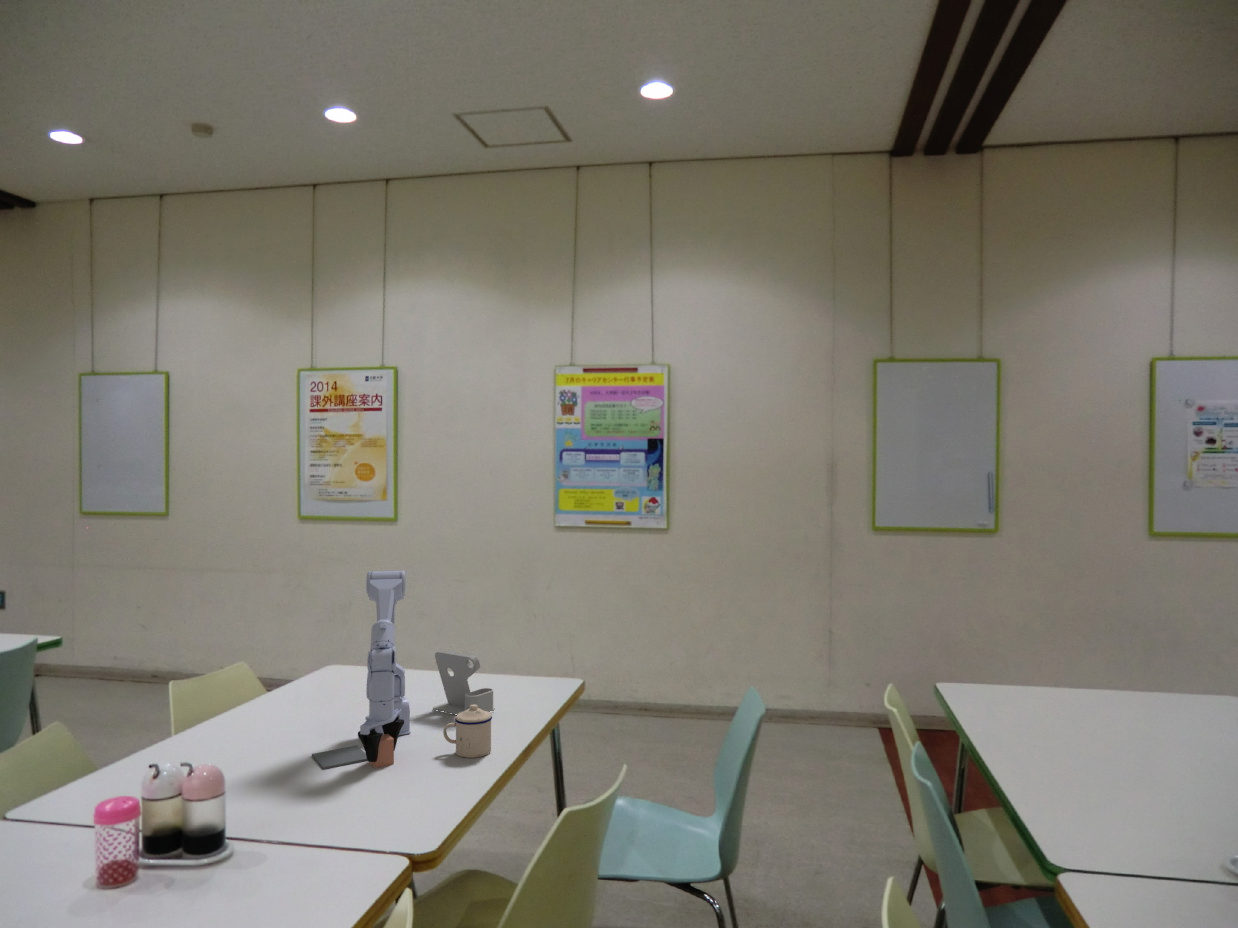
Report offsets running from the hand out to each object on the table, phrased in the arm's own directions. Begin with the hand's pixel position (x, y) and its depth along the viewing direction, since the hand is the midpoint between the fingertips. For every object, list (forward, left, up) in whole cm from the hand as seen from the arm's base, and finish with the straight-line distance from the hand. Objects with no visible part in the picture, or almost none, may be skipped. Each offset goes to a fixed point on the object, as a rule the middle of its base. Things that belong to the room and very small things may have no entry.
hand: (381, 755), depth 187 cm
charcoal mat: (+7, -9, -2) cm, 12 cm away
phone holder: (-34, -29, -2) cm, 45 cm away
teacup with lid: (-20, +5, -2) cm, 21 cm away
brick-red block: (0, 0, -2) cm, 2 cm away
